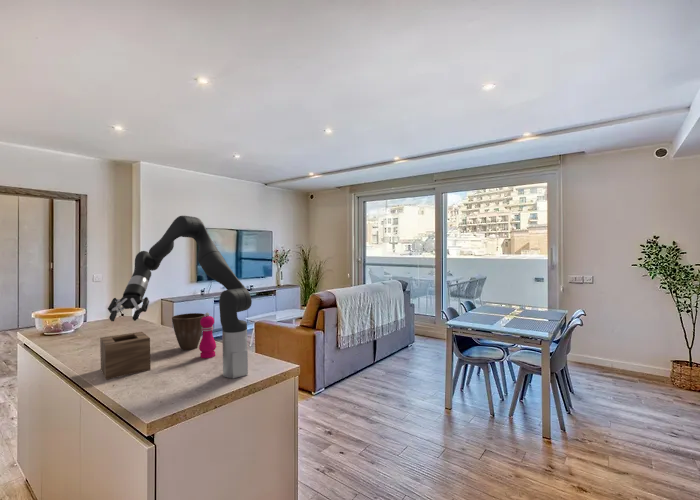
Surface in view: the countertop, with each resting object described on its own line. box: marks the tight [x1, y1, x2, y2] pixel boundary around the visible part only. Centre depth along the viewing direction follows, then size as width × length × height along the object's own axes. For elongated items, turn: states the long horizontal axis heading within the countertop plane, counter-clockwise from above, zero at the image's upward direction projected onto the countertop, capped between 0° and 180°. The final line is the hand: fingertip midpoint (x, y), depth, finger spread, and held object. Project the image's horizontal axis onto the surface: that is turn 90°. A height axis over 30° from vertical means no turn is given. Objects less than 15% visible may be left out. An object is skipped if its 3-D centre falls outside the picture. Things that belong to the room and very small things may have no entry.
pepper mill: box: [198, 312, 217, 359], centre depth 158 cm, size 7×7×20 cm
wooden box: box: [99, 331, 152, 380], centre depth 142 cm, size 15×15×13 cm
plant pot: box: [171, 312, 206, 351], centre depth 172 cm, size 15×15×16 cm
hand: (122, 320), depth 141 cm, fingers open, 8 cm apart
